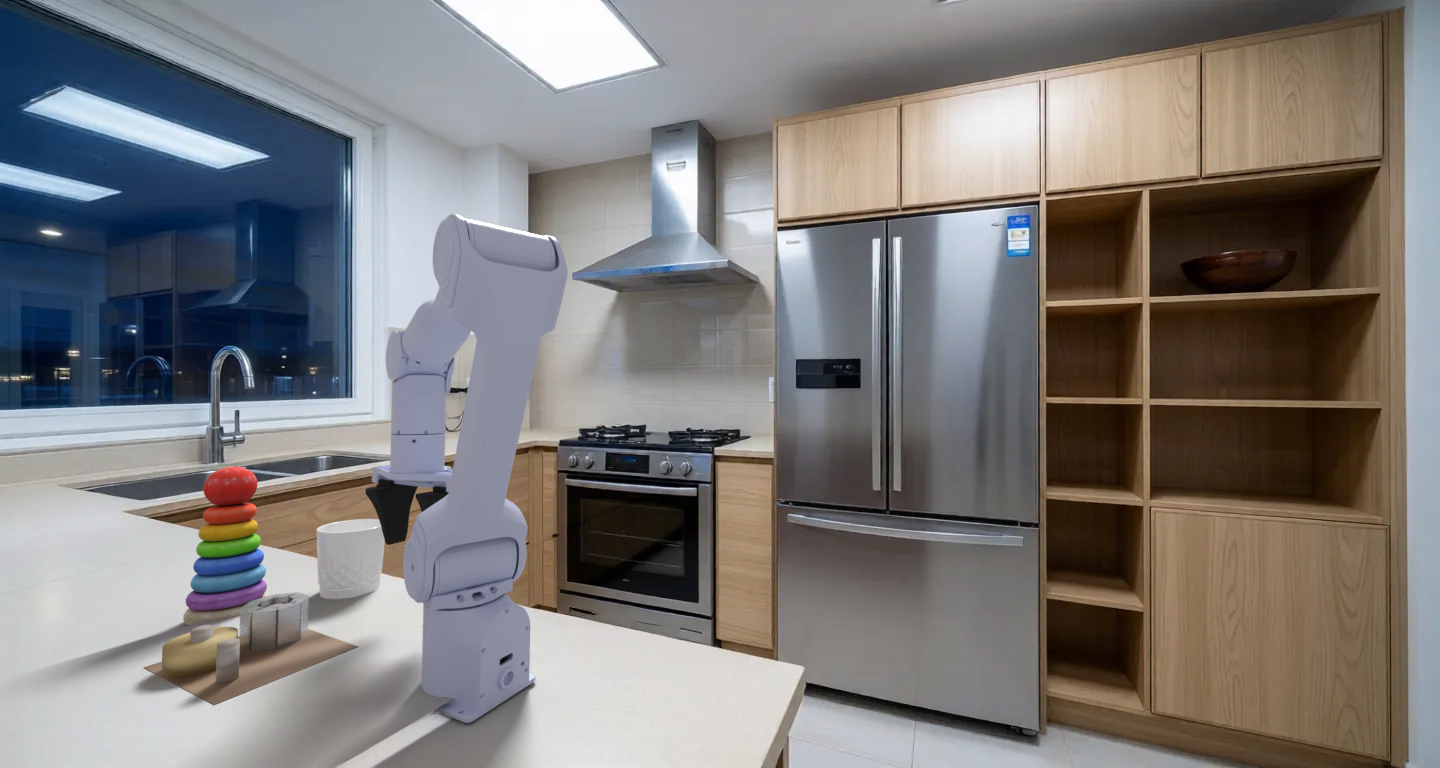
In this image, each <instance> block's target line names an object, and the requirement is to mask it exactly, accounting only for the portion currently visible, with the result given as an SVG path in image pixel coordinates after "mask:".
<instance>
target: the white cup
mask: <svg viewBox="0 0 1440 768" xmlns="http://www.w3.org/2000/svg"><path fill="white" fill-rule="evenodd" d="M384 553H385V539H384V536H383V532H382V528H381V524H380V521H379V518H359V519H356V518H355V519H348V520H341V521H335V522H330V523H326V524H323V525H320V526H318V527H317V528H316V558H317V559H316V560H317V562H316V563H317V577H318V578H317V579H318V581H317V582H318V585H319V597H320V598H322V599H326V600H342V599H351V598H357V597H361V596H365V595H367V594H369V593H371V592H375V591H376V590H377V589H379V588H380V586H381V585H380V584H381V575H382V573H383V563H384Z"/></svg>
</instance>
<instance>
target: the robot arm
mask: <svg viewBox="0 0 1440 768" xmlns="http://www.w3.org/2000/svg"><path fill="white" fill-rule="evenodd" d="M432 269H433V275H434V278H435V280H436V281H437V283H438V291H437V292H436V296H435V298H434V299H430V300H426V302H423V303H421V304H420V305H419V306H418V308H417V309H416V311H415V312H414V314H413V316H412V318H411V319H410V321H409V323H408V324H407V327H406V328H405V330H391V332H390V335H389V336H388V339H387V343H386V344H387V345H386V351H385V368H386V374H387V377H388V380H390V381H392V382H391V417H390V418H391V419H390V422H391V423H390V454H389V455H390V457H389V458H390V460H389V465H388V464H386V465H379V466H378V465H376V466H372V467H371V482H372V483H376V486H371V487H367V488H365V495H366V496H367V498H368V499H369V501H370V502H371V504H372V506H373V508H374V509H375V512H376V514H377V517H378V518H377V519H379V521H380V524H381V528H382V532H383V536H384V539H385V542H384V544H385V545H388V546H391V545H394V544H398V543H402V542H405V541H406V542H405V545H404V550H403V557H402V558H403V559H402V561H403V562H402V565H403V567H402V568H403V569H402V570H403V580H404V581H403V582H404V586H405V590H406V592H407V595H408V596H409V597H410V598H411V599H413V601H414V602H416V603H417V604H423V605H422V606H423V608H422V612H423V613H422V642H421V643H422V646H421V647H422V650H421V651H422V653H421V655H422V656H421V688H422V690H423V691H424V693H426V694H427V695H431V696H433V697H438V698H447V699H451V700H450V701H448V702H446V703H444V704H442V705H441V706H439V707H437V708H436V709H434V710H433V711H435V712H438V713H440V714H442V715H445V716H447V717H450V718H452V719H455V720H456V721H457V720H458V721H460V722H462V723H464V724H470V723H473V722H474V721H476V720H477V719H479V718H480V717H482V716H483V715H485V714H486V713H488V712H490V711H491V710H493V709H494V708H496V707H498V706H499V705H500V704H502V703H504V702H505V701H507V700H509V698H511V697H513V696H514V695H516V694H518V693H519V692H521V691H522V690H524V689H525V688H526V687H528V686H530V685H531V684H534V682H536V675H535V674H532V673H530V662H531V661H530V657H531V656H530V655H531V654H530V653H531V647H530V646H531V619H530V616H529V614H528V612H527V610H526V609H525V608H524V607H523V606H521V605H519V604H517V603H516V602H514V601H513V600H512V599H511V597H509V594H508V593H510V592H512V591H513V588H514V587H513V586H514V585H513V582H515V581H516V580H518V579H519V578H520V577H521V574H522V573H523V571H524V568H525V565H526V562H527V556H528V555H527V554H528V551H527V544H526V543H527V535H528V528H529V527H528V524H527V521H526V519H525V516H524V515H523V512H522V511H521V509H520V508H519V507H518V506H517V505H516V504H515V503H514V502H512V501H511V500H509V499H508V498H506V497H507V494H508V493H507V492H508V489H509V484H510V479H511V475H512V470H513V466H514V463H515V457H516V452H517V448H518V445H519V444H518V443H519V440H520V434H521V430H522V425H523V422H524V418H525V417H524V416H525V412H526V407H527V405H528V404H527V403H528V398H529V394H530V389H531V385H532V381H533V376H534V371H535V368H536V367H535V366H536V364H537V358H538V354H539V351H540V350H539V349H540V344H541V341H542V337H543V336H544V335H547V334H549V333H550V332H552V331H554V330H555V329H556V325H557V322H558V321H557V320H558V317H559V314H560V309H561V306H562V302H563V297H564V293H565V289H566V284H567V280H568V273H569V271H568V266H567V262H566V258H565V253H564V250H563V248H562V246H561V243H560V241H558V239H557V238H556V237H554V236H551V235H546V234H545V235H540V234H535V233H531V232H527V231H521V230H519V229H518V230H517V229H514V228H509V227H504V226H501V225H496V224H492V223H487V222H483V221H479V220H474V219H469V218H464V217H463V216H462V215H459V214H456V213H450V214H449V215H447V216H446V217H445V219H442V221H441V222H440V223H439V225H438V227H437V229H436V232H435V235H434V241H433V247H432ZM471 332H472V333H473V335H474V337H475V340H476V344H475V349H474V354H473V359H472V364H471V365H472V366H471V371H470V377H469V381H468V385H467V392H466V396H465V403H464V408H463V412H462V417H461V418H462V419H461V424H460V430H459V435H458V440H457V445H456V451H455V456H454V461H453V468H452V466H449V465H445V461H446V423H447V422H446V421H447V420H446V418H447V414H446V413H447V396H449V395H450V393H451V392H450V391H452V390H451V388H452V387H451V386H452V385H451V384H452V376H453V373H454V369H455V363H456V362H455V359H456V358H455V356H456V354H457V353H458V352H459V350H460V349H461V348H462V346H463V345H464V343H465V342H466V341H467V340H468V339H469V337H470V335H471ZM418 488H427V489H432V491H426V492H419V493H416V492H417V490H418ZM414 496H415V499H416V500H417V503H418V506H419V509H420V511H421V512H420V513H419V514H418V515H416V518H415V522H414V523H413V526H412V530H411V533H410V537H409V538H408V540H407V537H408V530H409V524H410V523H409V521H410V512H411V507H412V503H413V501H414Z"/></svg>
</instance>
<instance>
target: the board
mask: <svg viewBox="0 0 1440 768" xmlns="http://www.w3.org/2000/svg"><path fill="white" fill-rule="evenodd" d="M280 605H283V604H274V605H270V606H268V607H276V606H280ZM239 637H240V635H239V629H238V628H236V627H235V626H233V627H232V626H216V627H214V626H213V624H203V625H199V626H197V627H194V628H192V629H190V632H188V633H184V634H181V635H179V636H177V637H173V638H171V639H170V640H168V641H166V642H164V644H163V645H162V646H161V647H162V649H161V661H158V662H156V663H153V664H149V665H146V666H144V667H143V669H145V670H147V671H149V672H151V673H153V674H155V675H156V676H157V677H160V678H162V679H164V680H166V681H167V682H170V683H171V684H172V685H175V686H177V687H179V688H181V689H182V690H185V691H187V693H191V694H192V695H194V696H196V697H197V698H199V699H201V700H204V702H207V703H209V704H211V705H213V706H216V705H218V704H221V703H224V702H226V701H228V700H230V699H234V698H236V697H238V696H241V695H243V694H245V693H248V692H251V691H253V690H256V689H258V688H261V687H263V686H265V685H268V684H270V683H273V682H275V681H278V680H280V679H283V678H285V677H288V676H290V675H293V674H295V673H298V672H301V671H303V670H305V669H308V668H309V667H313V666H315V665H318V664H320V663H323V662H325V661H327V660H330V659H333V658H334V657H337V656H339V655H343V654H344V653H347V652H350V651H352V650H355V649H356V648H359V645H356V644H352V643H349V642H347V641H344V640H341V639H338V638H335V637H333V636H329V635H327V634H324V633H321V632H318V631H315V630H312V629H310V628H308V631H307V633H306V634H305V635H304V636H303V637H302V638H301V639H299V640H298V641H295V642H292V643H289V644H287V645H284V646H281V647H278V648H277V647H276V648H274V649H266V650H258V651H247V650H245V649H242V648H240V639H239Z"/></svg>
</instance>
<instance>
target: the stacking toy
mask: <svg viewBox="0 0 1440 768" xmlns="http://www.w3.org/2000/svg"><path fill="white" fill-rule="evenodd" d="M257 489H258V479H257V477H256V475H255V473H254V472H252V471H251V470H250V469H247V468H245V467H242V466H226V467H222V468H219V469H217V470H215V471H213V472H212V473H211V474H210V475H209V476H208V477H207V478H206V480H205V481H204V484H203V494H204V497H205V498H206V500H207V501H208V502H209V503H211V504H212V505H214V506H210V507H208V508H206V510H204V512H203V515H202V519H203V521H205V523H207V524H204V525H203V526H202V527H201V528H199V531H198V537H199V539H200V540H202V541H201V542H199V543H198V545H197V546H196V549H195V552H196V554H197V556H199V557H198V558H197V559H196V560H195V561H194V563H193V567H192V568H193V571H194V572H195V575H194V576H193V577H192V578H191V580H190V588H191V590H192V591H190V592H189V593H188V595H187V596H186V598H185V605H186V607H187V609H186V611H185V612H184V613H183V618H182V620H183V622H184V623H185V624H186V625H187V626H192V625H195V624H199V623H203V622H206V621H207V622H208V621H217V620H222V619H227V618H234V617H236V616H240V608H242V607H243V606H244V605H246V604H247V603H248V602H251V601H253V600H256V599H260V598H263V597H267V596H268V595H267V594H266V592H267V588H268V585H267V582H266V581H265V580H264V579H263V578H264V577H265V575H266V573H267V569H266V566H265V565H264V564H262V563H263V561H264V558H265V554H264V552H263V550H261V549H259V548H260V545H261V543H262V538H261V536H259V535H258V534H256V532H257V531H258V528H259V524H258V523H259V522H257V521H256V520H255V519H252V518H254V517H255V516H256V515H257V512H258V508H257V506H256V505H255V504H253V503H250V502H248V501H250V500H251V499H252V498H253V497H254V495H255V494H256V491H257Z"/></svg>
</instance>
